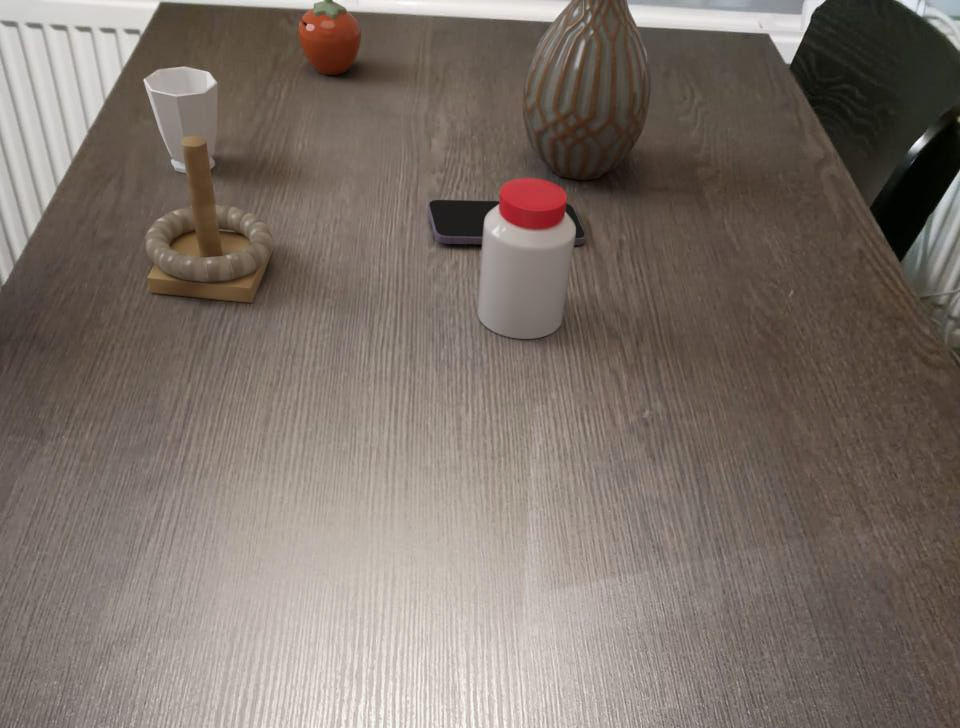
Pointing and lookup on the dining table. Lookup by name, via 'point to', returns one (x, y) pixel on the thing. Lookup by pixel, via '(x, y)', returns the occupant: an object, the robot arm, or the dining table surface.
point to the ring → (209, 266)
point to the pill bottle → (526, 260)
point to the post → (205, 237)
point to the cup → (184, 108)
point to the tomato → (329, 37)
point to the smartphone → (473, 220)
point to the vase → (587, 89)
